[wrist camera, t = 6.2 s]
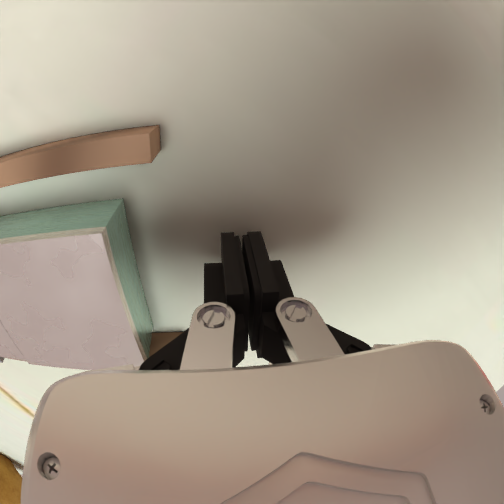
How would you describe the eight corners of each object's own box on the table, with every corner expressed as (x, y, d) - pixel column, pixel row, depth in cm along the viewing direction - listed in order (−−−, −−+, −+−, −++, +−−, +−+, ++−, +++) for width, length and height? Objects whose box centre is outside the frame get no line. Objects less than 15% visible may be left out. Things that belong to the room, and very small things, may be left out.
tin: (126, 194, 12) (101, 233, 9) (154, 321, 16) (148, 371, 13) (1, 213, 11) (-36, 249, 8) (46, 321, 15) (29, 363, 12)
